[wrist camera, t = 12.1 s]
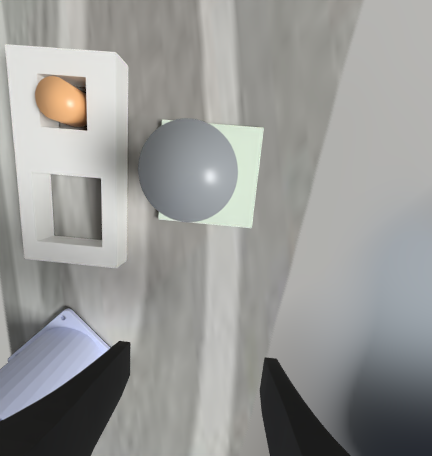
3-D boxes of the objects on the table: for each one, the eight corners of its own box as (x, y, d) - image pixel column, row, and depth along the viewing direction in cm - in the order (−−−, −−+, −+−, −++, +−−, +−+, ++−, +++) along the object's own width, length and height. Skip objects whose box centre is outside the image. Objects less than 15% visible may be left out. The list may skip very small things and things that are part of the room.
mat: (251, 226, 20) (251, 228, 19) (160, 218, 20) (158, 219, 20) (262, 129, 18) (263, 127, 18) (163, 121, 19) (162, 119, 18)
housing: (127, 260, 21) (116, 268, 19) (42, 251, 21) (24, 258, 20) (128, 66, 18) (115, 52, 16) (28, 59, 18) (4, 44, 16)
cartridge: (202, 215, 19) (181, 240, 12) (165, 169, 19) (118, 163, 11) (248, 180, 19) (258, 181, 11) (211, 130, 18) (194, 94, 10)
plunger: (93, 128, 18) (74, 121, 16) (59, 125, 19) (36, 118, 16) (92, 90, 18) (73, 77, 16) (57, 87, 18) (33, 74, 16)
